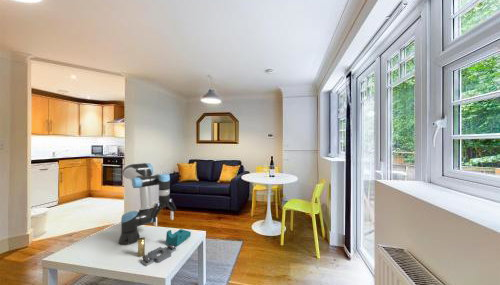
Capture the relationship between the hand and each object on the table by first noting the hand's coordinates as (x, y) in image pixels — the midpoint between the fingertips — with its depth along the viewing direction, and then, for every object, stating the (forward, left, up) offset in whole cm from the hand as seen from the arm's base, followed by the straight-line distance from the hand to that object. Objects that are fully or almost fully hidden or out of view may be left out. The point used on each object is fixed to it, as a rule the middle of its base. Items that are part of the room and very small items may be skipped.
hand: (163, 222), depth 148 cm
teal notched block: (-7, +18, -24) cm, 30 cm away
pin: (-11, -11, -23) cm, 28 cm away
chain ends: (+1, -4, -23) cm, 24 cm away
